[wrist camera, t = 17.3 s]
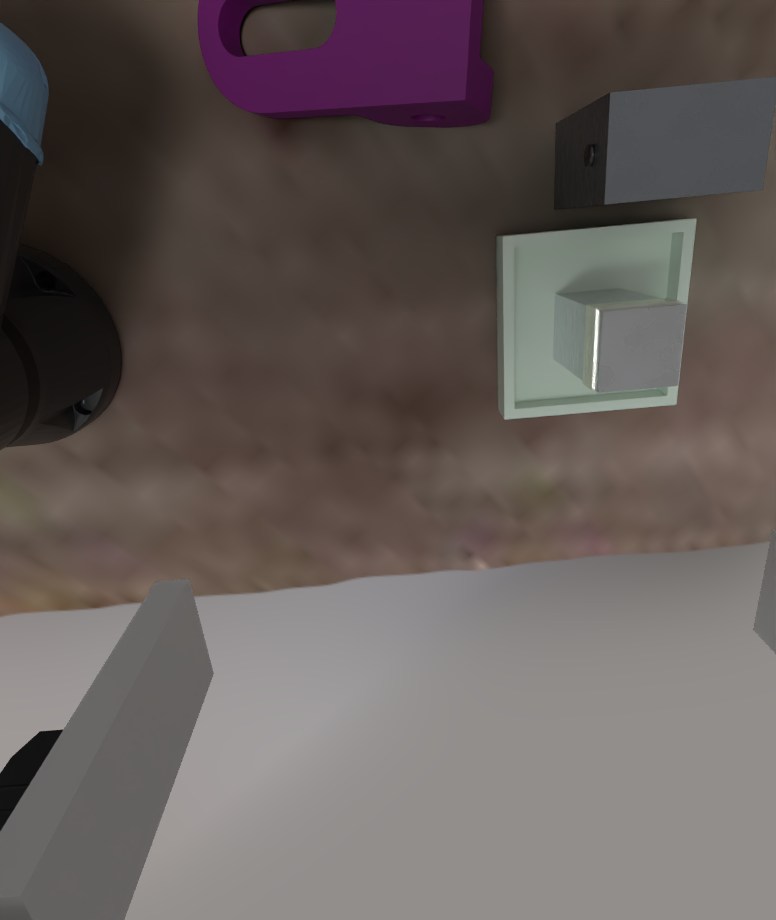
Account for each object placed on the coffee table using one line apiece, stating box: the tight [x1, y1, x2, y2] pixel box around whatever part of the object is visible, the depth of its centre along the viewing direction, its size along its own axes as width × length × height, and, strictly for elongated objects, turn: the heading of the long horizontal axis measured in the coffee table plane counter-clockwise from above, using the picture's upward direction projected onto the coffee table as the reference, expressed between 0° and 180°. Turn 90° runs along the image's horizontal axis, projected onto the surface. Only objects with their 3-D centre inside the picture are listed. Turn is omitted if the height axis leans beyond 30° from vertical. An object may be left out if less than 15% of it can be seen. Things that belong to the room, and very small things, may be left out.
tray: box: [496, 219, 697, 420], centre depth 44 cm, size 14×14×2 cm
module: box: [553, 288, 687, 393], centre depth 40 cm, size 5×5×10 cm
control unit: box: [554, 77, 776, 209], centre depth 36 cm, size 10×6×10 cm, turn 95°
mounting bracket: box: [198, 0, 494, 127], centre depth 36 cm, size 10×8×18 cm
